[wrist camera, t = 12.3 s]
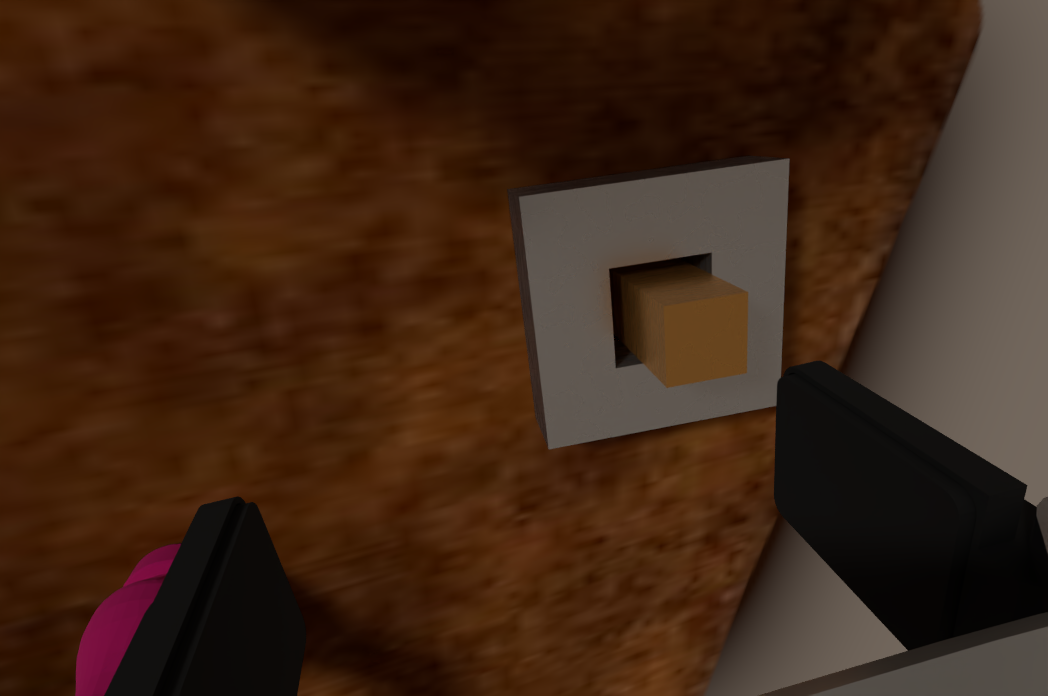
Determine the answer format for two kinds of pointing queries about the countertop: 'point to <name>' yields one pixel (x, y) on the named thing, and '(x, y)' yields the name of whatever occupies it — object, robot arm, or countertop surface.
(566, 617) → the countertop surface
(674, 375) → the wooden block
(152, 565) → the pepper mill
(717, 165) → the white flat block
